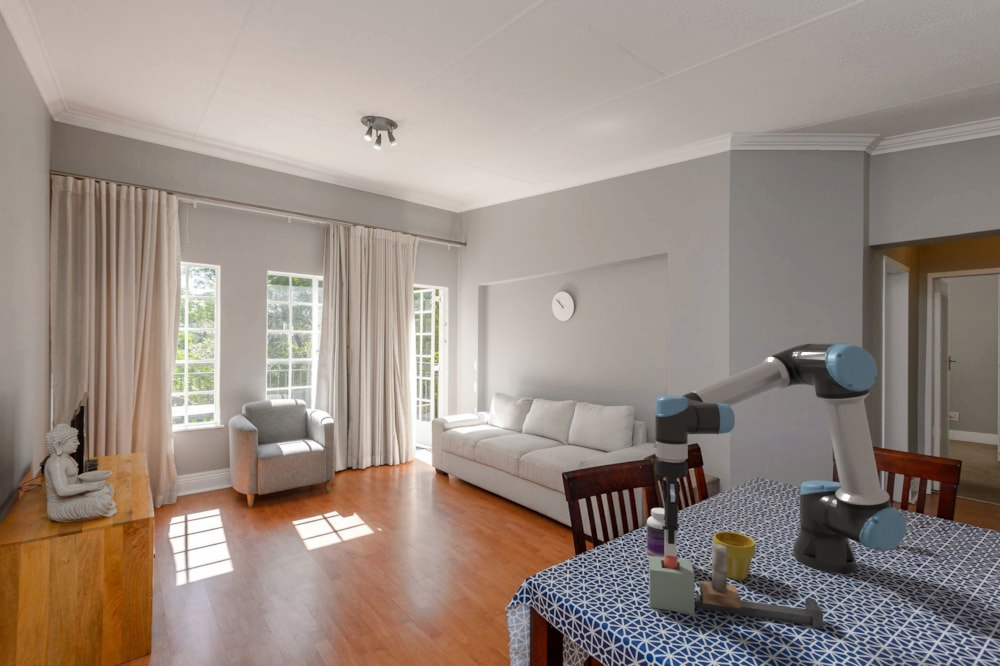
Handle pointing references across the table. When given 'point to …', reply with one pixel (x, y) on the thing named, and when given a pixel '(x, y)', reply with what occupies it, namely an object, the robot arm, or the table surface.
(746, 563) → the plant pot
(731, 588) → the carriage
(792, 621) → the rail
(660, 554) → the pill bottle
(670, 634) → the table surface
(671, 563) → the plunger
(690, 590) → the switch box
